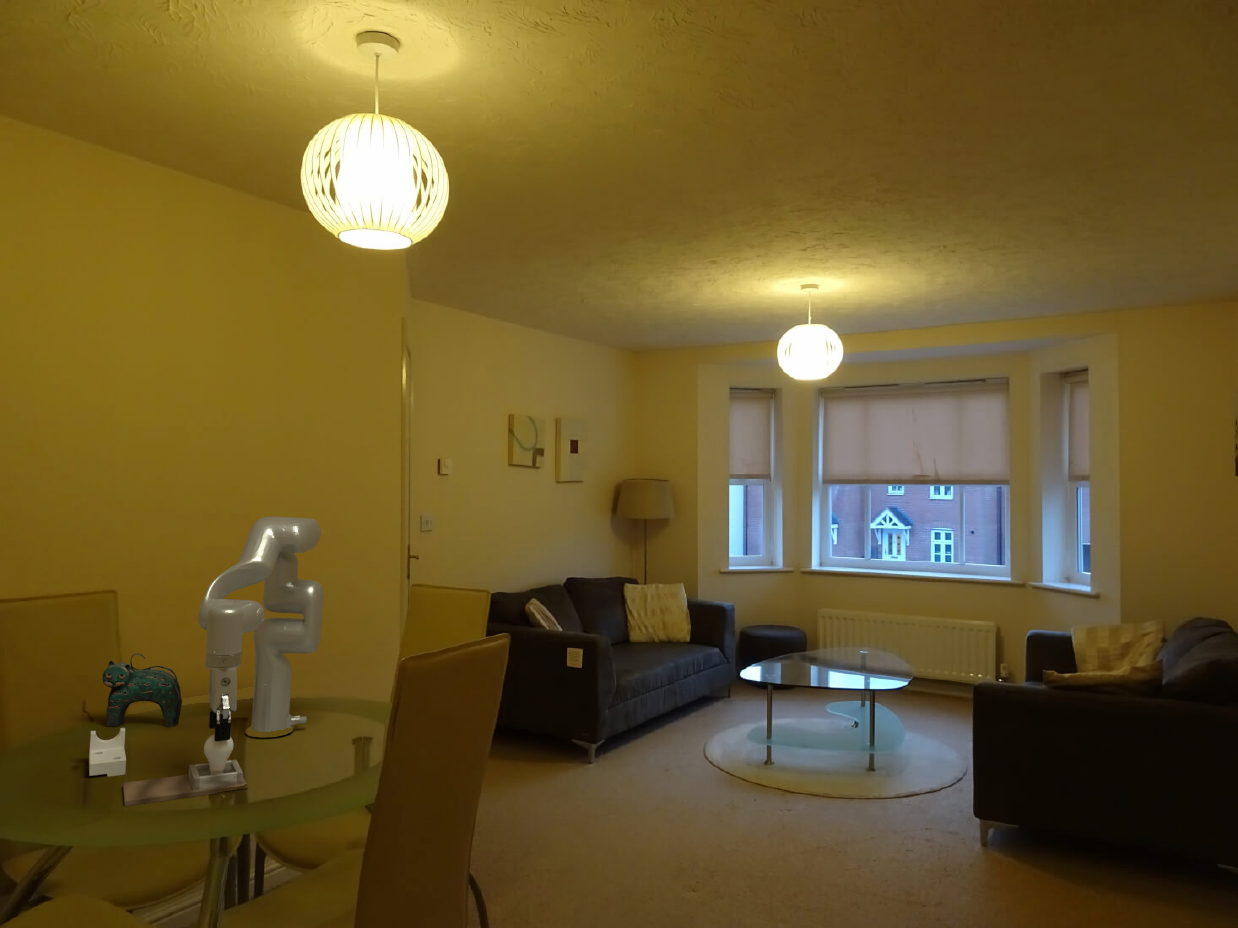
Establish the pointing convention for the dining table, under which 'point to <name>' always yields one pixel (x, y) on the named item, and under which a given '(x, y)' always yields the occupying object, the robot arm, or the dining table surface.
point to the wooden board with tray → (184, 784)
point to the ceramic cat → (141, 691)
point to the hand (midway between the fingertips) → (219, 733)
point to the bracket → (107, 755)
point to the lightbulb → (217, 754)
